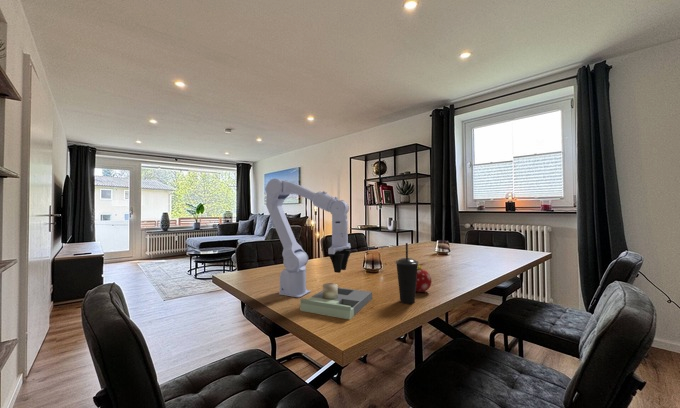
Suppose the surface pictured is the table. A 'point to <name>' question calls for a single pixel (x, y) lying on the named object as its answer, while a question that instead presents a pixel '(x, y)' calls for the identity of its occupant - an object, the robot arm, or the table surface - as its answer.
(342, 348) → the table surface
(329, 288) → the beige rounded cylinder
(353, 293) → the trap deck
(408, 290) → the drinking cup
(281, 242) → the robot arm
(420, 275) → the christmas ornament
